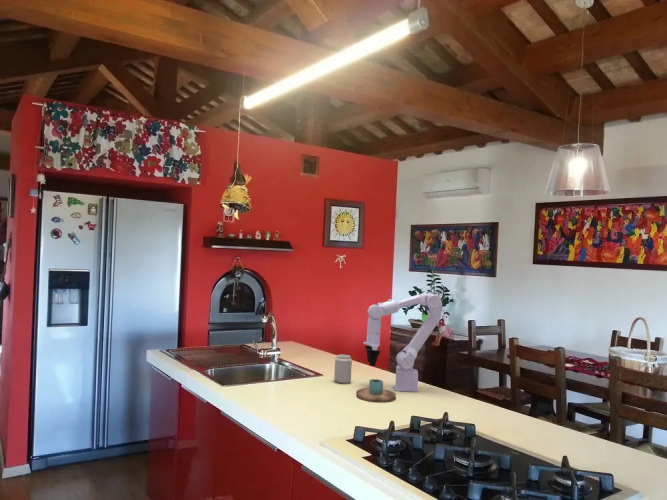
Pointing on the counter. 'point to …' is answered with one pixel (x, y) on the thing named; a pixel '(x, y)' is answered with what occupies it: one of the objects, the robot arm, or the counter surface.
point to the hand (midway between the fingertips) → (371, 364)
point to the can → (343, 369)
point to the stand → (375, 396)
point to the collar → (376, 387)
